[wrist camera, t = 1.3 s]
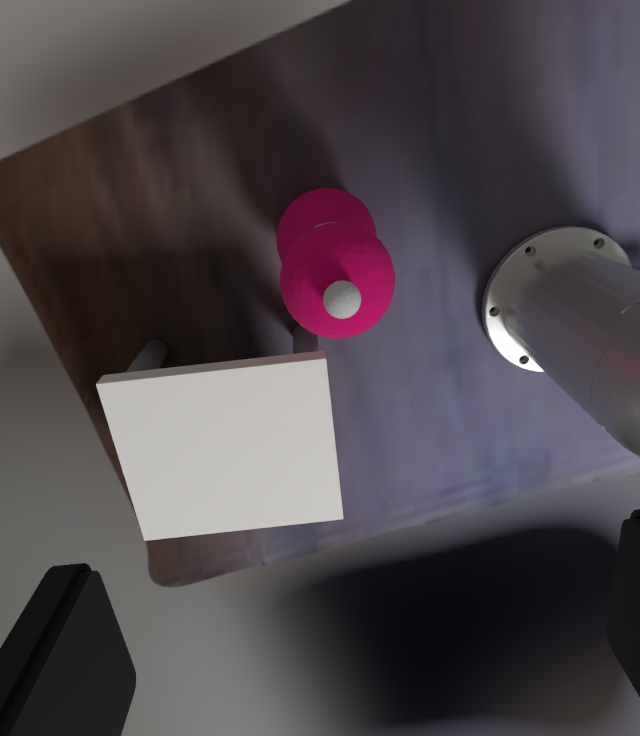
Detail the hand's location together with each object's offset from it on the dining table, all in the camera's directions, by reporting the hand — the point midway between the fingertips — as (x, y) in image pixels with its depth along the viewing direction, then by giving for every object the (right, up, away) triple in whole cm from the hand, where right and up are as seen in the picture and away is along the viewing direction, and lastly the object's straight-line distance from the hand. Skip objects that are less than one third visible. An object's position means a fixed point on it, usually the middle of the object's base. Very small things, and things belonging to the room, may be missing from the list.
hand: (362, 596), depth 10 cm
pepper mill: (0, +15, +33) cm, 36 cm away
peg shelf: (-8, +1, +38) cm, 39 cm away
